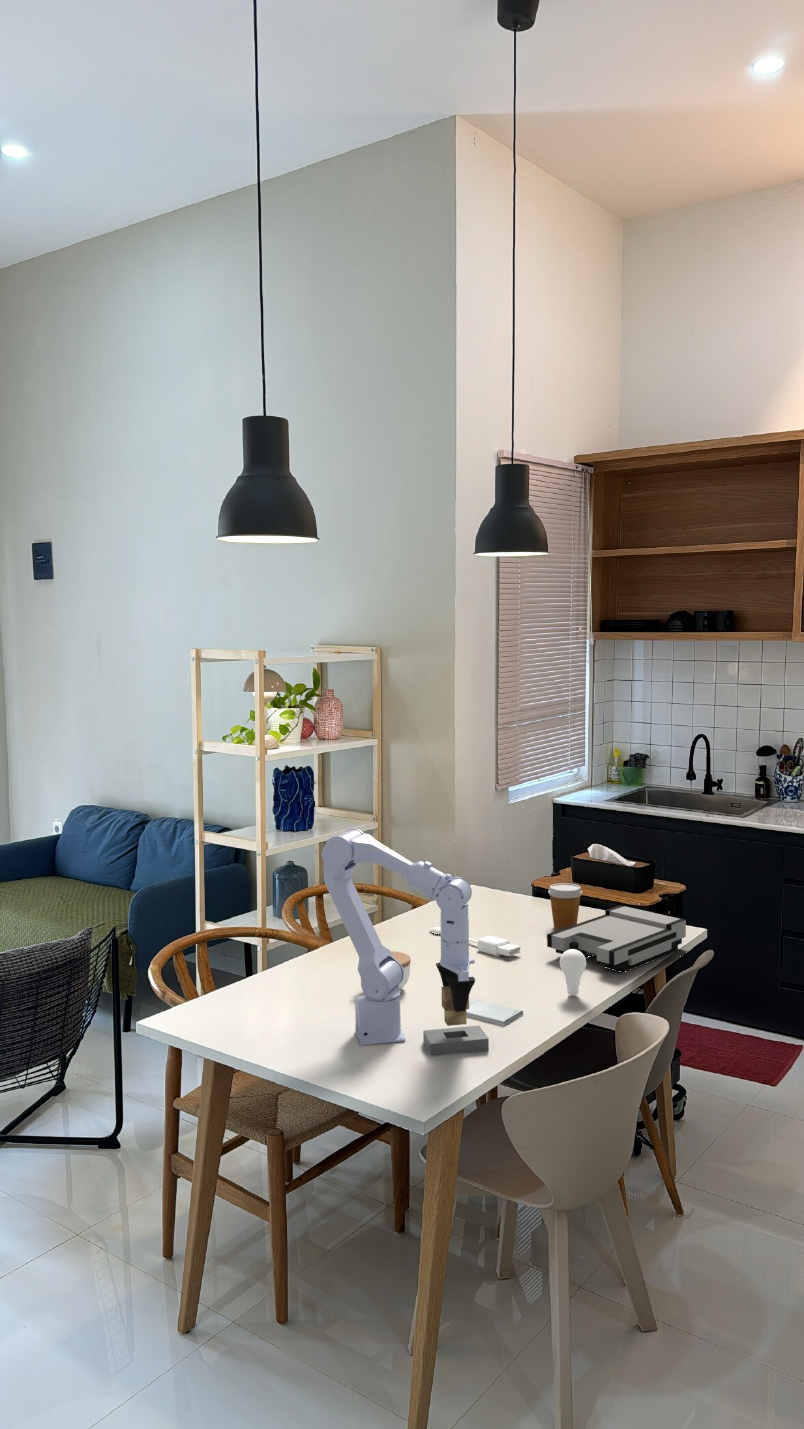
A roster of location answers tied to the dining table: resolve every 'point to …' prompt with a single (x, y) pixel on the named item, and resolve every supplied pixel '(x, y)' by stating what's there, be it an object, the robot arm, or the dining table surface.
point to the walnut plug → (452, 1009)
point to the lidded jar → (405, 963)
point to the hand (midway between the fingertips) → (455, 1004)
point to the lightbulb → (572, 969)
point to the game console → (622, 937)
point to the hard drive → (492, 1012)
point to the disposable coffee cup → (564, 904)
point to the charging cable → (490, 944)
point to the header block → (455, 1040)
